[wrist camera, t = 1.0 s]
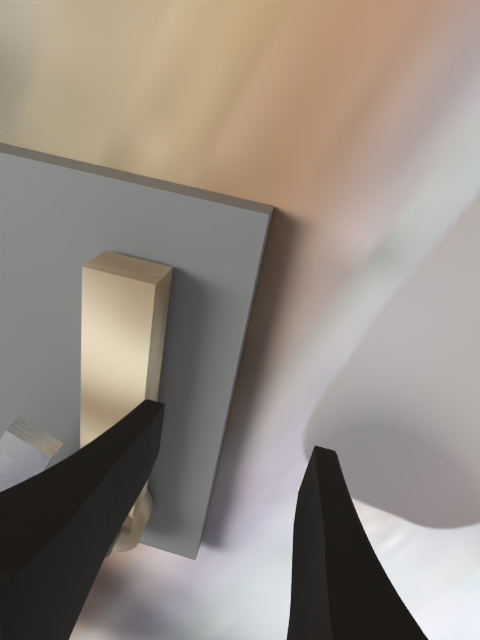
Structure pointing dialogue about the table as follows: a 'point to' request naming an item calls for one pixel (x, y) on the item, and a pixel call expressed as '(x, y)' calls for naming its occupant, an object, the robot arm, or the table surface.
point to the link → (121, 354)
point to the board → (182, 317)
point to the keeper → (24, 452)
